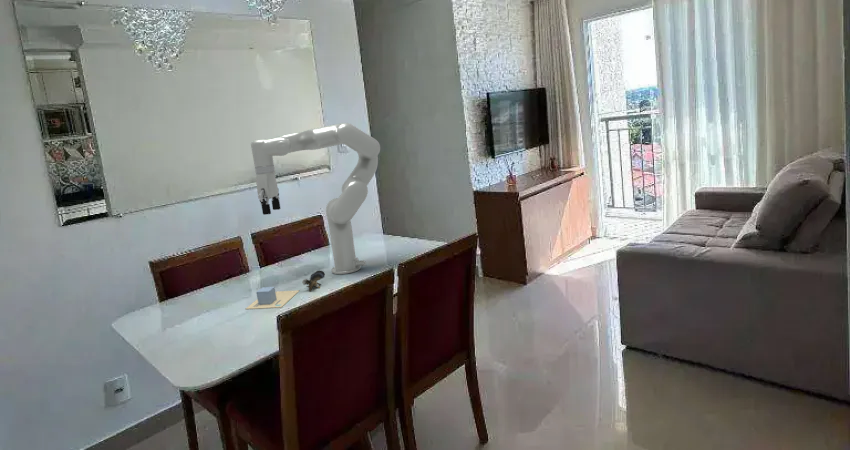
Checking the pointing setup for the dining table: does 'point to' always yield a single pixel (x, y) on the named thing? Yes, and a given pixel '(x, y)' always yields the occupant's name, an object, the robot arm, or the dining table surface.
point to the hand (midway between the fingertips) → (272, 211)
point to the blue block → (266, 295)
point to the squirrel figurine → (314, 279)
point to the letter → (279, 303)
